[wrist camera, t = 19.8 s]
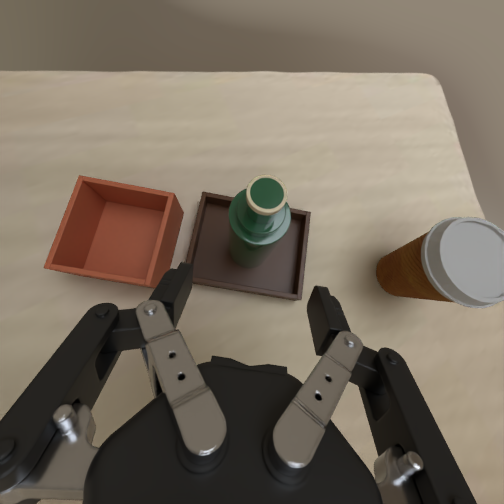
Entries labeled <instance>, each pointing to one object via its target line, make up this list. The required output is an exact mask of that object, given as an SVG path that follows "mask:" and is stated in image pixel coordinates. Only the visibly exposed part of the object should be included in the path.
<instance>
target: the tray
mask: <svg viewBox="0 0 504 504" xmlns="http://www.w3.org/2000/svg"><path fill="white" fill-rule="evenodd" d="M233 199H234V197H228V196H223V195H218V194H213V193H207V192H202V196H201V200H200V205H199V209H198V213H197V217H196V222H195V226H194V230H193V234H192V239H191V243H190V247H189V251H188V256H187V260H186V263H190V264H193V282H192V283H194V284H200V285H206V286H212V287H218V288H224V289H230V290H236V291H242V292H248V293H253V294H259V295H265V296H271V297H277V298H283V299H289V300H295V301H296V300H301V299H302V289H303V280H304V271H305V261H306V252H307V242H308V233H309V224H310V214H311V212H308V211H307V212H306V211H302V210H297V209H292V208H290V212H291V222H290V226H289V229H288V231H287V232H286V234H285V235H284V236H283V238H282V239H281V240H280V242H279V243H278V244H277V246H276V247H275V248H274V250H273V251H272V252H271V254H270V255H269V256H268V258H267V259H266V260H265V262H264V263H263V264H262V265H260V266H258V267H256V268H251V269H248V268H243V267H240V266H239V265H237V264H236V263H235V262H234V261H233V260H232V258H231V256H230V253H229V220H228V213H229V207H230V204H231V202H232V200H233Z"/></svg>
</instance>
